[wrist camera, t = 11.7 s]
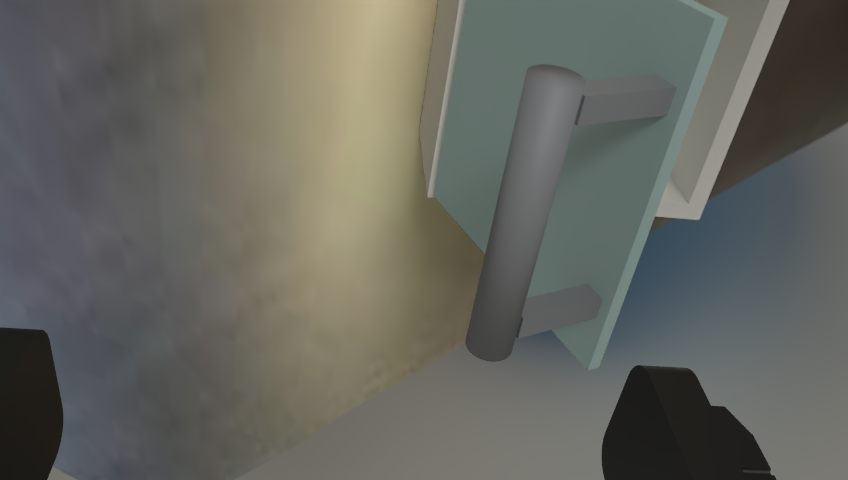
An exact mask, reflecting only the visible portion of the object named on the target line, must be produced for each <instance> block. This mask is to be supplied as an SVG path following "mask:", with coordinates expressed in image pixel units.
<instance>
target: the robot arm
mask: <svg viewBox="0 0 848 480" xmlns="http://www.w3.org/2000/svg"><path fill="white" fill-rule="evenodd" d="M62 430H63V408H62V402H61V397H60V392H59V387H58V381H57V376H56V371H55V366H54V361H53V356H52V351H51V345H50V341H49V337H48V335H47V333H46V332H45V331H44V330H34V329H16V328H0V480H47V479H48V476H49V474H50V471H51V469H52V466H53V464H54V461H55V459H56V456H57V453H58V450H59V446H60V442H61V437H62ZM602 468H603V474H604V478H605V480H776V478H775V476H773V475H771V474H770V470H771V469H770V466H769V465H768V463H767V461H766V459H765V457H764V455H763V453H762V451H761V449H760V448H759V446H758V444H757V442H756V440H755V439H754V436H753V435H752V434H751V433H750V432H749V431H748V430H747V429H746V428H745V427H744V426H743V425H742V424H741V423H740V422H739V421H738V420H737V419H736V418H735V417H734V416H733V415H732V414H731V413H730V412H729V411H728V410H727V409H726V408H725V407H721V406H720V407H719V406H711V405H710V403H709V401H708V399H707V397H706V395H705V393H704V391H703V389H702V387H701V385H700V383H699V381H698V379H697V377H696V375H695V374H694V373H693V371H691V370H690V369H688V368H677V367H676V368H675V367H659V366H641V365H638V366H635V367H634V368H633V369H632V370H631V372H630V374H629V376H628V378H627V380H626V383H625V386H624V388H623V391H622V393H621V395H620V398H619V400H618V403H617V405H616V408H615V410H614V413H613V415H612V418H611V420H610V422H609V425H608V428H607V430H606V432H605V435H604V439H603V445H602Z"/></svg>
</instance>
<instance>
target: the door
mask: <svg viewBox="0 0 848 480" xmlns="http://www.w3.org/2000/svg"><path fill="white" fill-rule="evenodd" d="M727 21H728V17H726V16H724V15H722V14H720V13H718V12H716V11H714V10H712V9H710V8H708V7H706V6H703V5H701V4H699V3H697V2H695V1H693V0H467V1H466V7H465V12H464V18H463V24H462V30H461V36H460V42H459V48H458V54H457V60H456V66H455V72H454V77H453V83H452V89H451V95H450V101H449V107H448V113H447V119H446V125H445V131H444V137H443V142H442V148H441V154H440V160H439V166H438V172H437V178H436V184H435V190H434V197H435V198H436V200H437V201H438V202H439V203H440V204H441V205H442V206H443V207H444V209H445V210H446V211H447V212H448V213H449V214H450V215H451V217H452V218H453V219H454V220H455V221H456V222H457V223H458V224H459V226H460V227H461V228H462V229H463V230H464V231H465V232H466V234H467V235H468V236H469V237H470V238H471V239H472V240H473V241H474V243H475V244H476V245H477V246H478V247H479V248H480V249H481V251H482V252H483V253H484V254H485V257H484V261H483V266H482V270H481V275H480V279H479V283H478V288H477V292H476V297H475V301H474V306H473V310H472V314H471V319H470V323H469V328H468V332H467V337H466V346H467V348H468V350H469V351H470V352H471V353H472V354H473V355H475V356H476V357H478V358H480V359H483V360H486V361H501V360H504V359H506V358H507V357H508V356H509V355H510V354H511V351H512V348H513V345H514V341H515V337H517V338H522V337H526V336H530V335H533V334H537V333H541V332H545V331H549V330H552V331H553V332H554V333H555V335H556V336H557V337H558V338H559V339H560V340H561V341H562V342H563V344H564V345H565V346H566V347H567V348H568V349H569V350H570V352H571V353H572V354H573V355H574V356H575V357H576V358H577V359H578V360H579V362H580V363H581V364H582V365H583V366H584V367H585V369H586V370H587V371H589V370H592V369H596V368H599V366H600V363H601V361H602V358H603V355H604V352H605V350H606V347H607V344H608V342H609V339H610V336H611V334H612V330H613V328H614V325H615V323H616V320H617V317H618V315H619V312H620V309H621V306H622V304H623V301H624V299H625V296H626V293H627V290H628V288H629V285H630V282H631V279H632V277H633V274H634V272H635V269H636V266H637V263H638V261H639V258H640V255H641V253H642V250H643V247H644V245H645V242H646V239H647V237H648V234H649V231H650V228H651V226H652V223H653V220H654V218H655V215H656V212H657V210H658V207H659V204H660V201H661V199H662V196H663V193H664V191H665V188H666V185H667V183H668V180H669V177H670V175H671V172H672V169H673V166H674V164H675V161H676V158H677V156H678V153H679V150H680V148H681V145H682V142H683V140H684V137H685V134H686V131H687V129H688V126H689V123H690V121H691V118H692V115H693V113H694V110H695V107H696V104H697V102H698V99H699V96H700V94H701V91H702V88H703V86H704V83H705V80H706V78H707V75H708V72H709V69H710V67H711V64H712V61H713V59H714V56H715V53H716V51H717V48H718V45H719V42H720V40H721V37H722V34H723V32H724V29H725V26H726V24H727Z"/></svg>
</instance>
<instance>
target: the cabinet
mask: <svg viewBox="0 0 848 480" xmlns="http://www.w3.org/2000/svg"><path fill="white" fill-rule="evenodd" d="M466 1H467V0H438V5H437V12H436V19H435V26H434V33H433V39H432V46H431V53H430V60H429V66H428V73H427V80H426V87H425V93H424V100H423V107H422V114H421V120H420V127H419V135H420V143H421V151H422V159H423V167H424V175H425V183H426V191H427V197H428V198H435V197H434V190H435V184H436V178H437V172H438V166H439V160H440V154H441V148H442V142H443V137H444V131H445V125H446V119H447V113H448V107H449V101H450V95H451V89H452V83H453V77H454V72H455V66H456V60H457V54H458V48H459V42H460V36H461V30H462V24H463V18H464V12H465V7H466ZM693 1H695V2H697V3H699V4H701V5H703V6H706V7H708V8H710V9H712V10H714V11H716V12H718V13H720V14H722V15H724V16H726V17H728V21H727V24H726V26H725V29H724V32H723V34H722V37H721V40H720V42H719V45H718V48H717V51H716V53H715V56H714V59H713V61H712V64H711V67H710V69H709V72H708V75H707V78H706V80H705V83H704V86H703V88H702V91H701V94H700V96H699V99H698V102H697V104H696V107H695V110H694V113H693V115H692V118H691V121H690V123H689V126H688V129H687V131H686V134H685V137H684V140H683V142H682V145H681V148H680V150H679V153H678V156H677V158H676V161H675V164H674V166H673V169H672V172H671V175H670V177H669V180H668V183H667V185H666V188H665V191H664V193H663V196H662V199H661V201H660V204H659V207H658V210H657V212H656V215H655V216H657V217H669V218H681V219H693V220H699V219H700V217H701V214H702V212H703V209H704V207H705V205H706V202H707V200H708V197H709V195H710V192H711V190H712V188H713V185H714V183H715V180H716V178H717V175H718V173H719V171H720V168H721V166H722V163H723V161H724V158H725V156H726V154H727V151H728V149H729V146H730V144H731V141H732V139H733V137H734V134H735V132H736V129H737V127H738V124H739V122H740V120H741V117H742V115H743V112H744V110H745V107H746V105H747V103H748V100H749V98H750V95H751V93H752V90H753V88H754V86H755V83H756V81H757V78H758V76H759V74H760V71H761V69H762V66H763V64H764V61H765V59H766V57H767V54H768V52H769V49H770V47H771V44H772V42H773V40H774V37H775V35H776V32H777V30H778V27H779V25H780V23H781V20H782V18H783V15H784V13H785V10H786V8H787V6H788V3H789V1H790V0H693Z"/></svg>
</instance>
